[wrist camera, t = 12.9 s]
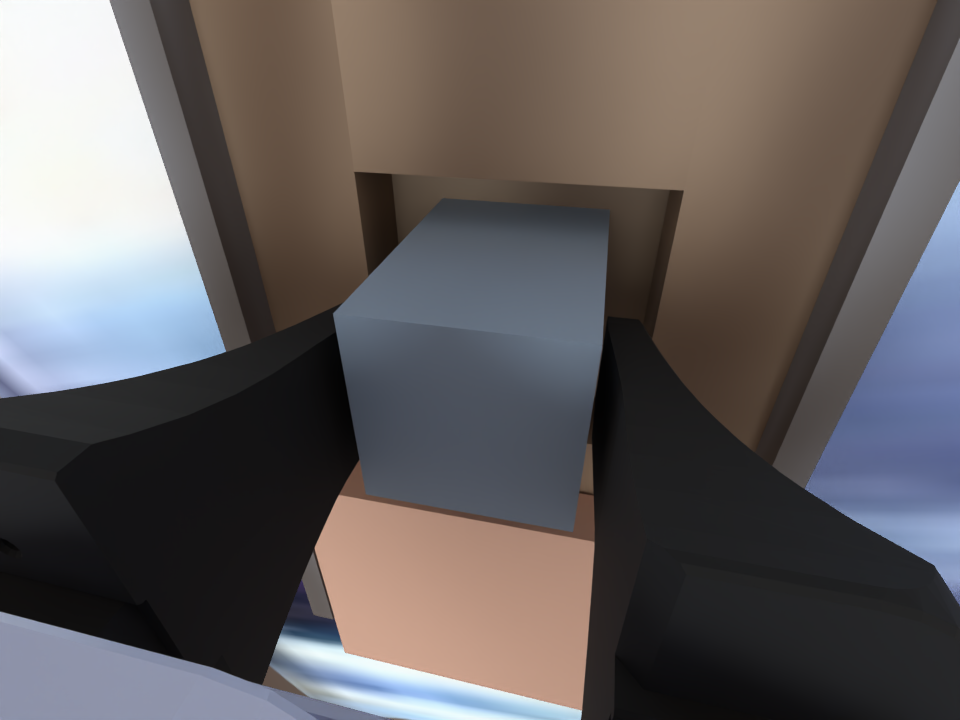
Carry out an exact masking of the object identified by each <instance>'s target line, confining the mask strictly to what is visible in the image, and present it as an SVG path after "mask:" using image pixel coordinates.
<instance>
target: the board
mask: <svg viewBox="0 0 960 720" xmlns="http://www.w3.org/2000/svg"><path fill="white" fill-rule="evenodd" d="M110 3H111V6H112V9H113V12H114V15H115V18H116V21H117V24H118V27H119V30H120V33H121V36H122V39H123V42H124V45H125V48H126V51H127V54H128V57H129V60H130V63H131V66H132V69H133V72H134V75H135V78H136V81H137V84H138V87H139V90H140V93H141V96H142V99H143V102H144V105H145V109H146V112H147V115H148V118H149V121H150V124H151V127H152V130H153V133H154V136H155V139H156V142H157V145H158V148H159V151H160V154H161V157H162V160H163V163H164V166H165V169H166V172H167V175H168V178H169V181H170V184H171V187H172V190H173V193H174V196H175V199H176V202H177V205H178V208H179V211H180V214H181V217H182V220H183V223H184V226H185V229H186V232H187V235H188V238H189V241H190V244H191V247H192V250H193V253H194V256H195V259H196V262H197V265H198V268H199V271H200V274H201V277H202V280H203V283H204V286H205V289H206V292H207V295H208V298H209V301H210V304H211V307H212V310H213V313H214V316H215V319H216V322H217V325H218V328H219V331H220V334H221V337H222V340H223V343H224V346H225V349H226V352H228V351H231V350H234V349H236V348H239V347H242V346H245V345H247V344H250V343H253V342H255V341H257V340H260V339H262V338H265V337H267V336H269V335H272V334H274V333H277V332H279V331H281V330H284V329H286V328H288V327H291V326H293V325H296V324H298V323H300V322H302V321H304V320H306V319H309V318H311V317H313V316H315V315H317V314H319V313H322V312H324V311H326V310H328V309H330V308H332V307H335V306H337V305H339V304H341V303H343V302H345V301H346V300H347V299H348V298H349V296H350V295H351V294H352V293H353V292H354V291H355V290H356V289H357V288H358V287H359V286H360V285H361V284H362V283H363V282H364V281H365V280H366V279H367V278H368V276H369V275H370V274H371V273H372V272H373V271H374V270H375V269H376V268H377V267H378V266H379V265H380V264H381V263H382V262H383V261H384V260H385V259H386V258H387V256H388V255H389V254H390V253H391V252H392V251H393V250H394V249H395V248H396V247H397V246H398V245H399V244H400V243H401V242H402V241H403V240H404V239H405V238H406V236H407V235H408V234H409V233H410V232H411V231H412V230H413V229H414V228H415V227H416V226H417V225H418V224H419V223H420V222H421V221H422V220H423V219H424V218H425V216H426V215H427V214H428V213H429V212H430V211H431V210H432V209H433V208H434V207H435V206H436V205H437V204H438V203H439V202H440V201H441V200H442V199H443V198H448V199H462V200H477V201H491V202H506V203H520V204H535V205H549V206H564V207H578V208H593V209H607V210H610V217H609V235H608V253H607V271H606V289H605V307H604V325H603V343H602V350H603V344H604V337H605V331H606V324H607V318H608V316H610V317H620V318H629V319H639V320H640V322H641V323H642V324H643V326H644V327H645V329H646V330H647V332H648V334H649V335H650V337H651V339H652V340H653V342H654V343H655V345H656V346H657V348H658V349H659V351H660V352H661V354H662V355H663V357H664V358H665V360H666V361H667V362H668V364H669V365H670V366H671V368H672V369H673V370H674V372H675V373H676V374H677V376H678V377H679V378H680V380H681V381H682V382H683V383H684V385H685V386H686V387H687V388H688V389H689V391H690V392H691V393H692V394H693V395H694V396H695V397H696V398H697V400H698V401H699V402H700V403H701V404H702V405H703V406H704V407H705V408H706V409H707V410H708V411H709V412H710V413H711V414H712V415H713V416H714V417H715V418H716V419H717V420H718V421H719V422H720V423H721V424H722V425H724V426H725V427H726V428H727V429H728V430H729V431H730V432H731V433H732V434H733V435H734V436H735V437H737V438H738V439H739V440H740V441H741V442H742V443H744V444H745V445H746V446H747V447H748V448H750V449H751V450H752V451H753V452H755V453H756V454H757V455H759V456H760V457H761V458H763V459H764V460H765V461H766V462H768V463H769V464H770V465H772V466H773V467H774V468H776V469H777V470H778V471H779V472H781V473H782V474H783V475H785V476H786V477H788V478H789V479H791V480H792V481H793V482H795V483H796V484H798V485H799V486H801V487H802V488H804V489H805V487H806V485H807V483H808V481H809V479H810V477H811V475H812V473H813V471H814V469H815V467H816V465H817V463H818V461H819V459H820V457H821V455H822V453H823V451H824V449H825V447H826V445H827V443H828V441H829V439H830V437H831V435H832V433H833V431H834V429H835V427H836V425H837V423H838V421H839V419H840V417H841V415H842V413H843V411H844V409H845V407H846V405H847V403H848V401H849V399H850V397H851V395H852V393H853V391H854V389H855V387H856V385H857V383H858V381H859V379H860V377H861V375H862V373H863V372H864V370H865V368H866V366H867V364H868V362H869V360H870V358H871V356H872V354H873V352H874V350H875V348H876V346H877V344H878V342H879V340H880V338H881V336H882V334H883V332H884V330H885V328H886V326H887V324H888V322H889V320H890V318H891V316H892V314H893V312H894V310H895V308H896V306H897V304H898V302H899V300H900V298H901V296H902V294H903V292H904V290H905V288H906V286H907V284H908V282H909V280H910V278H911V276H912V274H913V272H914V270H915V268H916V266H917V264H918V262H919V260H920V258H921V256H922V254H923V252H924V250H925V248H926V246H927V244H928V243H929V241H930V239H931V237H932V235H933V233H934V231H935V229H936V227H937V225H938V223H939V221H940V219H941V217H942V215H943V213H944V211H945V209H946V207H947V205H948V203H949V201H950V199H951V197H952V195H953V193H954V191H955V189H956V187H957V185H958V183H959V181H960V0H110ZM601 357H602V351H601ZM601 357H600V363H601ZM600 363H599V370H600ZM599 370H598V376H599ZM598 376H597V382H596V389H597V383H598ZM596 389H595V395H594V402H593V408H592V414H591V421H590V427H589V434H588V440H587V446H586V453H585V459H584V466H583V472H582V478H581V485H580V491H579V493H580V494H586V495H592V496H594V493H593V462H592V428H593V417H594V406H595V396H596ZM302 581H303V584H304V587H305V590H306V593H307V596H308V599H309V602H310V605H311V608H312V611H313V614H314V615H317V616H321V617H325V618H330V619H334V613H333V610H332V606H331V603H330V600H329V596H328V593H327V589H326V586H325V583H324V579H323V576H322V572H321V569H320V565H319V562H318V559H317V555H316V552H315V548H314V551H313V553H312V556H311V558H310V560H309V563H308V565H307V567H306V570H305V572H304V574H303V577H302Z"/></svg>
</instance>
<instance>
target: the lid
mask: <svg viewBox="0 0 960 720" xmlns="http://www.w3.org/2000/svg"><path fill="white" fill-rule="evenodd" d="M594 539H595V523H594V496H592V495H586V494H580V493H579V498H578V504H577V510H576V517H575V523H574V529H573V532H569V531H564V530H559V529H553V528H548V527H542V526H537V525H531V524H526V523H520V522H515V521H509V520H504V519H498V518H493V517H487V516H482V515H476V514H471V513H465V512H460V511H454V510H449V509H443V508H438V507H433V506H427V505H422V504H416V503H411V502H405V501H400V500H394V499H389V498H383V497H378V496H372V495H367V494H366V492H365V487H364V481H363V476H362V470H361V465H360V460H359V461H358V463H357V465H356V466H355V468H354V470H353V471H352V473H351V475H350V476H349V478H348V480H347V481H346V483H345V485H344V487H343V488H342V490H341V492H340V494H339V496H338V498H337V500H336V502H335V504H334V506H333V508H332V510H331V513H330V515H329V517H328V519H327V521H326V524H325V526H324V528H323V530H322V532H321V535H320V537H319V539H318V541H317V544H316V546H315V552H316V555H317V559H318V562H319V565H320V569H321V572H322V576H323V579H324V583H325V586H326V589H327V593H328V596H329V600H330V603H331V606H332V610H333V613H334V617H335V620H336V624H337V627H338V630H339V634H340V637H341V641H342V644H343V647H344V651H345V653H349V654H353V655H357V656H361V657H365V658H370V659H374V660H378V661H382V662H386V663H390V664H394V665H398V666H402V667H406V668H410V669H415V670H419V671H423V672H427V673H431V674H435V675H439V676H443V677H447V678H451V679H455V680H460V681H464V682H468V683H472V684H476V685H480V686H484V687H488V688H492V689H496V690H501V691H505V692H509V693H513V694H517V695H521V696H525V697H529V698H533V699H537V700H541V701H546V702H550V703H554V704H558V705H562V706H566V707H570V708H574V709H578V710H582V705H583V693H584V680H585V668H586V656H587V643H588V630H589V616H590V603H591V590H592V575H593V561H594Z"/></svg>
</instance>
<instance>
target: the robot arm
mask: <svg viewBox="0 0 960 720" xmlns="http://www.w3.org/2000/svg"><path fill="white" fill-rule="evenodd" d="M343 303H344V302H343ZM343 303H341V304H339V305H337V306H335V307H332V308H330V309H328V310H326V311H324V312H322V313H319V314H317V315H315V316H313V317H311V318H309V319H306V320H304V321H302V322H300V323H298V324H296V325H293V326H291V327H288V328H286V329H284V330H281V331H279V332H277V333H274V334H272V335H269V336H267V337H265V338H262V339H260V340H257V341H255V342H253V343H250V344H247V345H245V346H242V347H239V348H236V349H234V350H231V351H228V352H225V353H222V354H219V355H215V356H212V357H209V358H206V359H203V360H200V361H196V362H193V363H189V364H185V365H181V366H178V367H174V368H170V369H166V370H162V371H158V372H154V373H150V374H146V375H143V376H138V377H134V378H129V379H124V380H119V381H114V382H109V383H104V384H98V385H93V386H87V387H81V388H76V389H69V390H63V391H56V392H49V393H41V394H33V395H25V396H17V397H9V398H1V399H0V720H392V719H388V718H384V717H380V716H377V715H373V714H369V713H365V712H362V711H358V710H354V709H350V708H347V707H343V706H339V705H335V704H331V703H328V702H324V701H320V700H316V699H313V698H309V697H305V696H301V695H298V694H294V693H290V692H286V691H283V690H278V689H275V688H271V687H267V686H263V685H262V683H263V681H264V678H265V675H266V673H267V670H268V667H269V664H270V661H271V658H272V656H273V653H274V650H275V647H276V644H277V641H278V639H279V636H280V633H281V630H282V628H283V625H284V623H285V620H286V618H287V615H288V612H289V610H290V607H291V605H292V602H293V600H294V597H295V594H296V592H297V589H298V587H299V584H300V582H301V579H302V577H303V574H304V572H305V570H306V567H307V565H308V563H309V560H310V558H311V556H312V553H313V551H314V548H315V546H316V544H317V541H318V539H319V537H320V535H321V532H322V530H323V528H324V526H325V524H326V521H327V519H328V517H329V515H330V513H331V510H332V508H333V506H334V504H335V502H336V500H337V498H338V496H339V494H340V492H341V490H342V488H343V487H344V485H345V483H346V481H347V480H348V478H349V476H350V475H351V473H352V471H353V470H354V468H355V466H356V465H357V463H358V461H359V460H360V459H359V454H358V448H357V443H356V437H355V432H354V426H353V421H352V415H351V410H350V404H349V399H348V393H347V388H346V382H345V377H344V371H343V366H342V360H341V355H340V349H339V344H338V338H337V333H336V327H335V322H334V316H333V313H334V312H335V311H336V310H337V309H338V308H339V307H340V306H341V305H342V304H343ZM592 462H593V493H594V523H595V539H594V561H593V575H592V590H591V603H590V616H589V630H588V643H587V656H586V668H585V680H584V693H583V705H582V717H581V720H960V606H959V604H958V602H957V601H956V599H955V598H954V596H953V594H952V593H951V591H950V590H949V588H948V586H947V585H946V583H945V581H944V580H943V578H942V577H941V575H940V574H939V572H938V571H937V570H936V568H935V566H934V565H932V564H931V563H929V562H927V561H925V560H924V559H922V558H920V557H918V556H916V555H915V554H913V553H911V552H909V551H907V550H906V549H904V548H902V547H900V546H898V545H897V544H895V543H893V542H891V541H889V540H888V539H886V538H884V537H882V536H880V535H879V534H877V533H875V532H873V531H872V530H870V529H868V528H866V527H864V526H863V525H861V524H859V523H857V522H855V521H854V520H852V519H850V518H849V517H847V516H845V515H844V514H842V513H841V512H839V511H838V510H836V509H834V508H833V507H831V506H830V505H828V504H827V503H825V502H824V501H822V500H820V499H819V498H817V497H816V496H814V495H813V494H811V493H810V492H808V491H806V490H805V489H804V488H802V487H801V486H799V485H798V484H796V483H795V482H793V481H792V480H791V479H789V478H788V477H786V476H785V475H783V474H782V473H781V472H779V471H778V470H777V469H776V468H774V467H773V466H772V465H770V464H769V463H768V462H766V461H765V460H764V459H763V458H761V457H760V456H759V455H757V454H756V453H755V452H753V451H752V450H751V449H750V448H748V447H747V446H746V445H745V444H744V443H742V442H741V441H740V440H739V439H738V438H737V437H735V436H734V435H733V434H732V433H731V432H730V431H729V430H728V429H727V428H726V427H725V426H724V425H722V424H721V423H720V422H719V421H718V420H717V419H716V418H715V417H714V416H713V415H712V414H711V413H710V412H709V411H708V410H707V409H706V408H705V407H704V406H703V405H702V404H701V403H700V402H699V401H698V400H697V398H696V397H695V396H694V395H693V394H692V393H691V392H690V391H689V389H688V388H687V387H686V386H685V385H684V383H683V382H682V381H681V380H680V378H679V377H678V376H677V374H676V373H675V372H674V370H673V369H672V368H671V366H670V365H669V364H668V362H667V361H666V360H665V358H664V357H663V355H662V354H661V352H660V351H659V349H658V348H657V346H656V345H655V343H654V342H653V340H652V339H651V337H650V335H649V334H648V332H647V330H646V329H645V327H644V326H643V324H642V323H641V322H640V320H639V319H629V318H620V317H610V316H608V318H607V324H606V331H605V337H604V344H603V350H602V357H601V363H600V370H599V376H598V383H597V389H596V396H595V406H594V417H593V428H592Z"/></svg>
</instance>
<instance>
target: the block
mask: <svg viewBox="0 0 960 720" xmlns="http://www.w3.org/2000/svg"><path fill="white" fill-rule="evenodd" d="M609 217H610V210H607V209H593V208H578V207H564V206H549V205H535V204H520V203H506V202H491V201H477V200H462V199H448V198H443V199H442V200H441V201H440V202H439V203H438V204H437V205H436V206H435V207H434V208H433V209H432V210H431V211H430V212H429V213H428V214H427V215H426V216H425V218H424V219H423V220H422V221H421V222H420V223H419V224H418V225H417V226H416V227H415V228H414V229H413V230H412V231H411V232H410V233H409V234H408V235H407V236H406V238H405V239H404V240H403V241H402V242H401V243H400V244H399V245H398V246H397V247H396V248H395V249H394V250H393V251H392V252H391V253H390V254H389V255H388V256H387V258H386V259H385V260H384V261H383V262H382V263H381V264H380V265H379V266H378V267H377V268H376V269H375V270H374V271H373V272H372V273H371V274H370V275H369V276H368V278H367V279H366V280H365V281H364V282H363V283H362V284H361V285H360V286H359V287H358V288H357V289H356V290H355V291H354V292H353V293H352V294H351V295H350V296H349V298H348V299H347V300H346V301H345V302H344V303H343V304H342V305H341V306H340V307H339V308H338V309H337V310H336V311H335V312H334V313H333V316H334V322H335V327H336V333H337V338H338V344H339V349H340V355H341V360H342V366H343V371H344V377H345V382H346V388H347V393H348V399H349V404H350V410H351V415H352V421H353V426H354V432H355V437H356V443H357V448H358V454H359V459H360V465H361V470H362V476H363V481H364V487H365V492H366V494H367V495H372V496H378V497H383V498H389V499H394V500H400V501H405V502H411V503H416V504H422V505H427V506H433V507H438V508H443V509H449V510H454V511H460V512H465V513H471V514H476V515H482V516H487V517H493V518H498V519H504V520H509V521H515V522H520V523H526V524H531V525H537V526H542V527H548V528H553V529H559V530H564V531H569V532H573V529H574V523H575V517H576V510H577V504H578V498H579V491H580V485H581V478H582V472H583V466H584V459H585V453H586V446H587V440H588V434H589V427H590V421H591V414H592V408H593V402H594V395H595V389H596V382H597V376H598V370H599V363H600V357H601V351H602V343H603V325H604V307H605V289H606V271H607V253H608V235H609Z"/></svg>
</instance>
